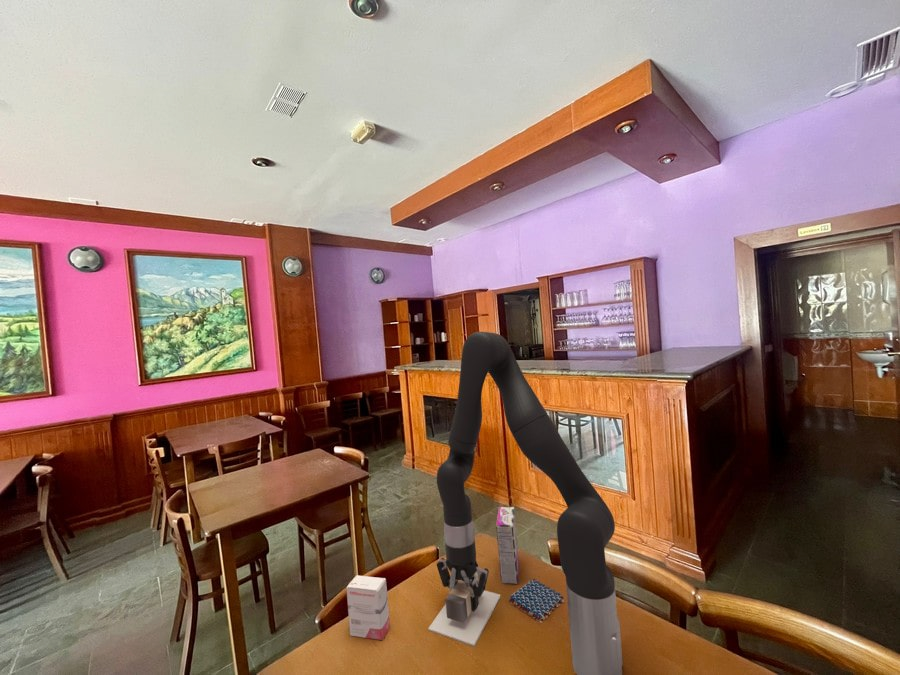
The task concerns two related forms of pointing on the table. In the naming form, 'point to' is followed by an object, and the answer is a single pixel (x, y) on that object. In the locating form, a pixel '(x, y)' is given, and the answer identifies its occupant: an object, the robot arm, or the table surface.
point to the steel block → (459, 602)
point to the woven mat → (536, 600)
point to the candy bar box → (507, 545)
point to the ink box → (368, 607)
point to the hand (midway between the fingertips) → (465, 606)
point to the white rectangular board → (467, 621)
